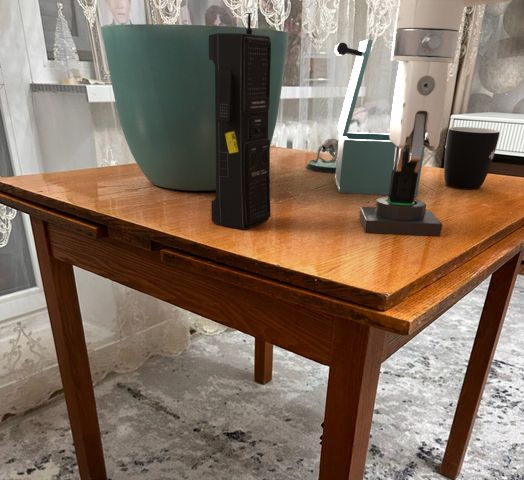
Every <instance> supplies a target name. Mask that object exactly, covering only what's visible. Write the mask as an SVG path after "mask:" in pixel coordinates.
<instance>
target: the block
mask: <svg viewBox="0 0 524 480" xmlns="http://www.w3.org/2000/svg"><path fill="white" fill-rule="evenodd" d="M388 200H389V199H388V196H381V197H379V198H377V199H376V202H375V203H376V204H375V206H360V207H359V215H358V218H359V221H360V223H361V225H362V228H363V231H364V233H366V234H381V235H382V234H383V235H385V234H386V235H402V236H404V235H405V236H406V235H407V236H426V237H440V236H441V233H442V229H443V223H442V222H441V221H440V219H438V217H437V216H436V215H435V214H434V213H433V212H432V211H431V210H430V209H427V202H425V201H424V200H421V199H417V198H415V197H414V201H413V202H415V205H397V204H392V203H389V202H388Z"/></svg>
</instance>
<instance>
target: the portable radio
mask: <svg viewBox="0 0 524 480" xmlns="http://www.w3.org/2000/svg"><path fill="white" fill-rule="evenodd" d="M246 15H247V28H248V29H246V34H245V33H217V34H212V35H209V59H210V60H213V62H214V64H215V118H216V190H215V197H214V199H212V200H210V203H211V205H210V206H211V207H210V208H211V209H210V210H211V211H210V213H211V222H212V223H214V224H216V225H218V226H223V227H228V228H234V229H238V230H243V231H244V230H248V229H250V228H252V227H255V226H257V225H259V224H261V223H264V222H267V221H268V220H269V218H271V215H272V214H271V179H270V177H271V174H270V173H271V172H270V171H271V145H270V140H269V139H268V110H269V104H270V68H271V42H270V37H268V36H262V35H254V34H252V29H250V28H252V27H251V26H252V25H251V20H252V19H251V17H252V15H253V12H246Z"/></svg>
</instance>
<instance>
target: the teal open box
mask: <svg viewBox="0 0 524 480" xmlns="http://www.w3.org/2000/svg"><path fill="white" fill-rule="evenodd" d="M338 132H339V131H338ZM389 134H390V133H375V132H352V131H351V132H349V131H348V134H347V137H344V136H342V135H341V133H340V132H339V133H338V140H339V141H338V152H337V159H336V160H337V163H336V173H334V183H335V185H336V188H337V191H338V193H339V194H353V195H354V194H357V195H360V194H361V195H376V196H378V195H380V196H388V194H389V187H390V180H391V174H392V170H393V163H394V155H395V146H396V145H395V144H394V143H393V142H392V141H391V140H390V137H389ZM425 149H426V148H425V147H424V146H423V150H422V155H421V160H420V165H419V170H418V177H417V183H416V189H415V195H414V197H417V196H418V193H419V186H420V181H421V180H420V179H421V175H422V167H423V160H424V157H425V156H424V155H425Z"/></svg>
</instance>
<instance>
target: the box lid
mask: <svg viewBox="0 0 524 480" xmlns="http://www.w3.org/2000/svg"><path fill="white" fill-rule="evenodd" d="M373 43H374V40H373V39H370V38H368V39H365V40H362V41H360V42H359V46H358V49H355V48H350V47H349V46H348V44H347V43H346V42H340V43H338V44H336V45H335V47H334V53H335V54H336V56H338V57H339V56H340V57H341V56H344V55H349V56H350V55H351V56H355V61H354V65H353V69H352V72H351V76H350V80H349V84H348V88H347V91H346V94H345V99H344V102H343V107H342V111H341V114H340V117H339V121H338V125H337V130H338V132H340V133H341V135H342V136H344V137H347V134H348V132H349V130H350V127H351V124H352V123H351V122H352V119H353V114H354V112H355V107H356V104H357V102H358V97H359V93H360V89H361V86H362V82H363V79H364V76H365V72H366V68H367V64H368V60H369V57H370V54H371V50H372V46H373Z"/></svg>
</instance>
